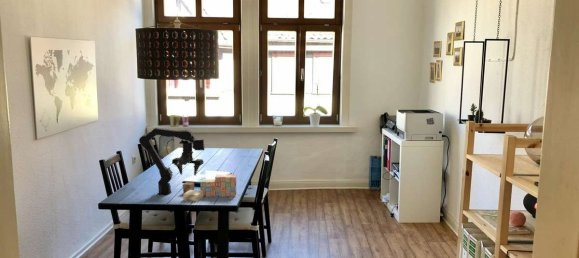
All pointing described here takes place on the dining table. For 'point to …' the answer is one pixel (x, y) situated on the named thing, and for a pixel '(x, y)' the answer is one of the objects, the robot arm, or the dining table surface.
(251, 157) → the dining table surface
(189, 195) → the birch block
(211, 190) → the stack of blocks
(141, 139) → the robot arm
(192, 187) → the walnut cube
